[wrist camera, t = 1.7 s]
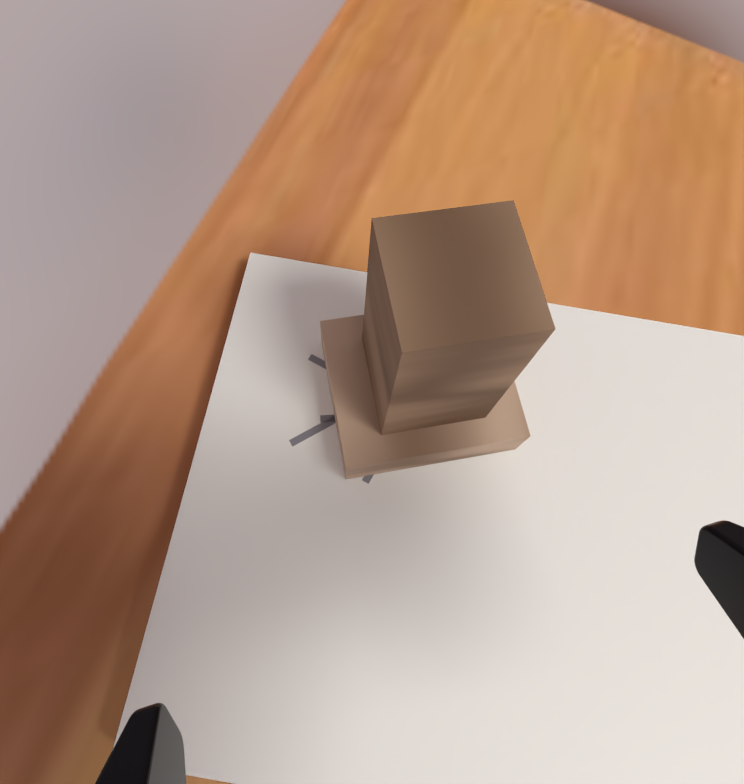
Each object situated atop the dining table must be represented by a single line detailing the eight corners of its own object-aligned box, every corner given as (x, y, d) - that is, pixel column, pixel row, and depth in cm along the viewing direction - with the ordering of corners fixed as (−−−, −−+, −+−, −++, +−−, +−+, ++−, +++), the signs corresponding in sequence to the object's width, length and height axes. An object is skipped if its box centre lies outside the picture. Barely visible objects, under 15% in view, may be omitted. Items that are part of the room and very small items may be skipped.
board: (755, 355, 27) (778, 341, 26) (794, 868, 20) (828, 888, 19) (255, 270, 27) (250, 252, 26) (125, 750, 20) (109, 761, 19)
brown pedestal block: (478, 318, 25) (554, 165, 16) (515, 449, 23) (623, 355, 14) (321, 342, 24) (310, 194, 16) (345, 479, 23) (349, 399, 14)
